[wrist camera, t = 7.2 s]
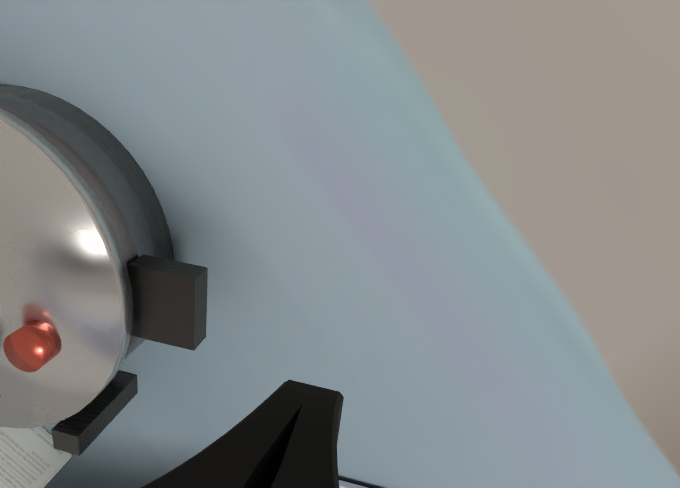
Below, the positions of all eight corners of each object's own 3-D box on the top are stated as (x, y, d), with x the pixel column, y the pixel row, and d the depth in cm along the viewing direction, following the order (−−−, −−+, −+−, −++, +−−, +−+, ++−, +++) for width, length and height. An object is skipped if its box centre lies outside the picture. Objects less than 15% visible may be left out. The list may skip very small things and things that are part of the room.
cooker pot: (224, 415, 26) (180, 484, 22) (-103, 331, 29) (-193, 379, 25) (237, 122, 21) (182, 145, 17) (-166, 55, 24) (-293, 62, 20)
